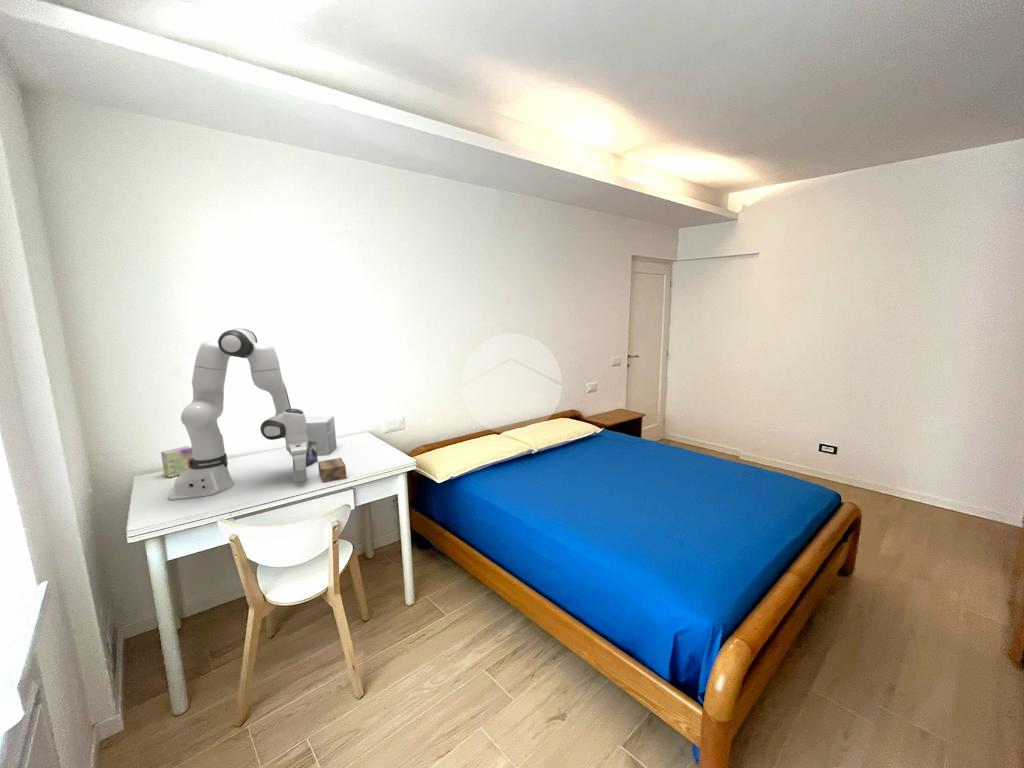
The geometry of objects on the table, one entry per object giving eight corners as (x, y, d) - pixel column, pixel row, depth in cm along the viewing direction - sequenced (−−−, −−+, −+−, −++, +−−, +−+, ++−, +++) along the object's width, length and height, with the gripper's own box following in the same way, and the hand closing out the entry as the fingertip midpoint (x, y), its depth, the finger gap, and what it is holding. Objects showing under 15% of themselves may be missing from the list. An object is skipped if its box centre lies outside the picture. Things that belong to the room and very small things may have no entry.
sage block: (294, 482, 187) (293, 469, 186) (294, 478, 192) (292, 466, 191) (307, 480, 190) (306, 467, 189) (306, 476, 194) (304, 463, 193)
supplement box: (337, 447, 236) (334, 415, 233) (329, 455, 223) (326, 422, 219) (305, 448, 234) (302, 416, 231) (295, 456, 221) (291, 423, 218)
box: (190, 469, 205) (186, 445, 203) (195, 471, 202) (192, 447, 200) (164, 476, 196) (160, 451, 194) (169, 478, 193) (165, 453, 191)
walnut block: (322, 482, 187) (321, 469, 186) (319, 473, 197) (318, 461, 196) (346, 478, 192) (345, 465, 191) (341, 469, 202) (340, 457, 201)
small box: (304, 468, 204) (302, 447, 202) (292, 467, 205) (290, 447, 203) (318, 461, 214) (316, 441, 212) (307, 460, 215) (305, 440, 214)
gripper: (287, 440, 195) (290, 468, 198) (290, 452, 178) (293, 483, 180) (302, 438, 198) (305, 466, 201) (307, 449, 181) (310, 480, 183)
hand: (300, 474), depth 190 cm, fingers closed on sage block, 5 cm apart
